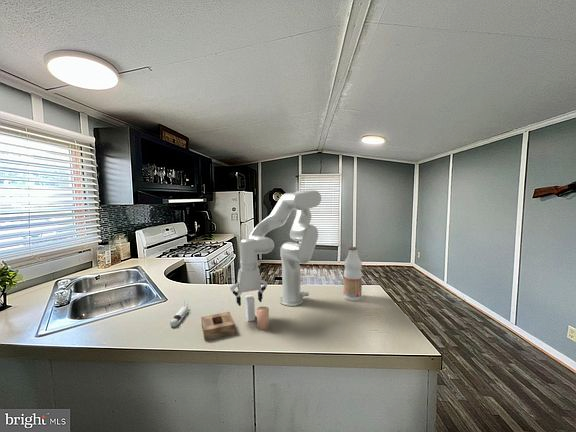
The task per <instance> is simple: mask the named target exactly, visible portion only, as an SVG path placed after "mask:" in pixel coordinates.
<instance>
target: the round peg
mask: <svg viewBox="0 0 576 432" xmlns="http://www.w3.org/2000/svg"><path fill="white" fill-rule="evenodd" d="M269 311H270V309H269V307H268V306H259V307H257V308H256V324H257V326H256V328H257V330H260V331H266V330H268V329H269V327H270V313H269Z"/></svg>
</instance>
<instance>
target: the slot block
mask: <svg viewBox="0 0 576 432" xmlns="http://www.w3.org/2000/svg"><path fill="white" fill-rule="evenodd" d="M201 329H202V335H203V339H204V341H206V340H212V339H217V338H220V337H224V336H225V337H226V336H230V335H234V334H236V323H235V320H234V319H233V316H232V314H231V313H230V311H227V312H221V313H215V314H210V315H205V316H204V315H203V316H201Z"/></svg>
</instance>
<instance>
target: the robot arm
mask: <svg viewBox="0 0 576 432" xmlns="http://www.w3.org/2000/svg"><path fill="white" fill-rule="evenodd" d="M321 202H322V195H321V193H320V192H319V191H318V190H314V189H313V190H311V189H310V190H305V189H304V190H297V191H294V192H286V193H283V194H282V195H281V196H280V198H279V199H278V201H277V202H276V204H275V205H274V207H273V209H272V210H271V212H270V213H269V215H267V217H265V218H264V219H263V220H261V221H260V222H259V223H258V224H256V225H255V227H254V228H253V230H252V232H251V233H250V234H249V236H248V238H247V237H246V238H243V239H240V242H239V249H240V251H239V253H240V254H239V257H240V259H239V260H240V261H239V262H240V268H238V272H237V282H236V283H235V284H233V285H231V286H230V288H229V290H230V291H231V293H232V294H233V295H234V296H236V297H235V298H236V304H237V305H238V306H239V307H241V305H242V303H241V302H242V298H241V295H242V293H249V292H254V291H258V292H257V300H258V301H259V302H260V303H262V301H263V293H264V292H265V290H267V286H268V285H269V283H268V281H266V280H262V278H261V272H260V268H259V266H261V261H259V262H258V255H261V254H265V255H267V254H270V253H271V252H272V251H273V250H274V248H275V242H274V240H273V239H272V238H270V237H267V236H266V235H267V234H268V233H270V232H271V231H273V230H275V229H277V228H280V227H282V226H284V225H285V223H286V222H287V220H288V218H289V216H290V214H291V213H292V212H293V211H296V213H295V217H294V219H293V222H292V224H291V228H290V231H289V237H290V239H292V240H293V242H292V241H287V242H284V243H283V244H282V245H281V247H280V248H279V249H280V250H279V251H280V252H279V254H280V255H279V256H280V259H281V267H282V268H281V269H282V270H281V272H282V273H281V275H282V276H281V277H282V278H281V279H282V281H281V282H282V283H281V284H282V287H281V288H282V295H281V296H280V298H279V303H280V304H281V305H283V306H287V307H295V306H299V305H302V304H303V303H304V297H308V296H309V295H310V293H309V292H308V291H307V292H305V291H304V290H303V291H301V266H300V264H301V265H302V264H303V265H305V264H307V263H309V262H310V260H311V259H312V257H313V253H314V251H315V248H316V245H317V242H318V240H319V239H318V238H319V230H318V229H317V227H316V226H315V225H314V224H311V220H312V212H311V210H310V209H312V208H316V207H318V206H319V205H320V204H321ZM294 241H295V242H294ZM298 242H299V243H298ZM262 284H263V286H262ZM236 288H237V291H236V290H235V289H236Z"/></svg>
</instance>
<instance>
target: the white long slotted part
mask: <svg viewBox="0 0 576 432" xmlns="http://www.w3.org/2000/svg"><path fill="white" fill-rule="evenodd" d="M183 302H184V303H183V305H184V306H182V307H180V308H179V310H178V311H177V312H176V314H175V315H174V316H173V318H172V319H171V320H170V321H169V322H170V326H171V327H174V328H175V327H177V326H178V325H179V324H180V323H181V322H182V320H183V319H184V317H185V316H186V315H187V314H188V312H189V311H190V306H189V305H188V303H187V304H186V305H185V303H186V302H185V301H183Z"/></svg>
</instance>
